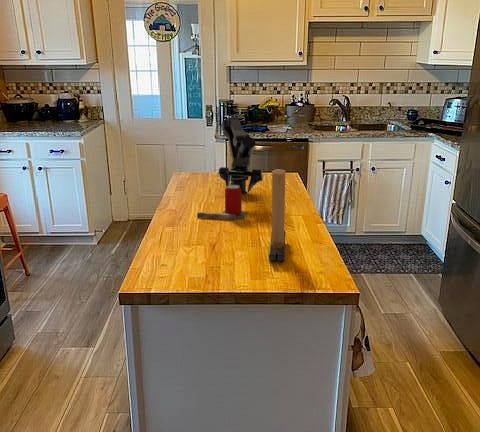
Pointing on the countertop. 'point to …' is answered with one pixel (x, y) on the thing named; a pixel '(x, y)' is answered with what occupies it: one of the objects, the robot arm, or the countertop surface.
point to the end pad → (242, 215)
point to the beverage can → (233, 200)
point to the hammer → (278, 216)
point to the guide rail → (216, 215)
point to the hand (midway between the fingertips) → (237, 191)
